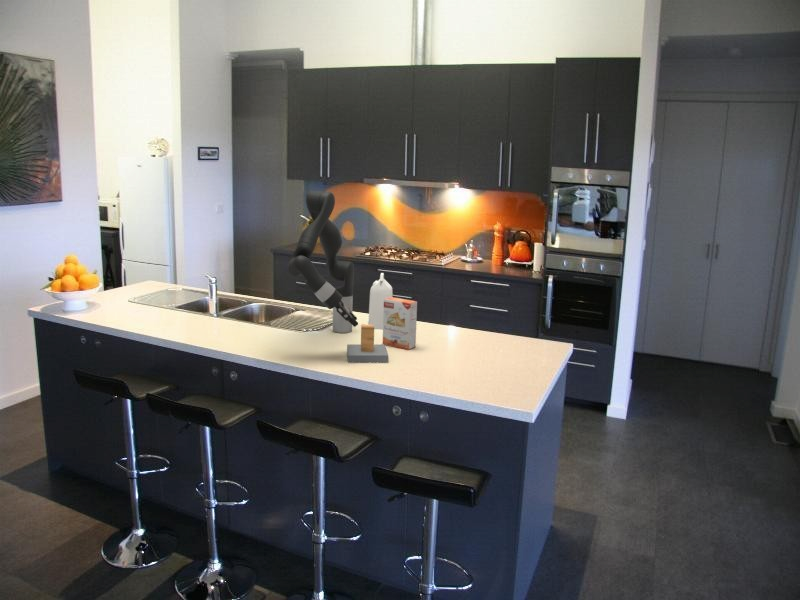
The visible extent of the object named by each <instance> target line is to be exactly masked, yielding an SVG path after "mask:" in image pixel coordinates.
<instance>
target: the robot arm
mask: <svg viewBox="0 0 800 600" xmlns="http://www.w3.org/2000/svg"><path fill="white" fill-rule="evenodd" d="M305 197H306V198H305V204H306V208H307V210H308V213H309V214H310V217H311V220H312V222H311V223H310V224H309V225H308V226H306V227H305V228H304V229H303V231H302V232H301V234H300V236H299V238H298V242H297V244H296V248H295V250H294V251H293V253H292V254H291V257H290V259H289V261H288V264H287V271H288V273H289V275H290V276H291V277H294V278H297V277H298V278H299V277H301V276H303V278H305V286H306V287H307V288H308V289H309V290H310V291H311V292H312V293H313V294H314V295H315V297H316V298H317V299H318V300H319V301H320V302H321V303H322V304H323V305H324V306H325V307H326V308H327V309H328V310H332V332H334V333H339V334H347V333H351V332H352V331H353V327H354V328H356V327H357V326H358V325H359V322H358V321H357V320H358V317H357V316H356V315H355V314H354V313H353V307H354V306H353V305H354V304H353V302H354V301H353V299H354V298H353V294H354V283H355V282H354V279H355V264H354V263H353V261H348V260H346V261H345V260H339V259H337V255H338V254H339V251H340V249H341V248H342V245H343V240H342V237H341V233H340V230H339V228H338V227H337V226H336V224H334V222H332V221H331V220H330V217H331V216H332V214H333V211H334V208H335V206H336V203H335V202H336V198H335V194H334V193H332V192H331V191H324V190H323V191H322V190H310V191H308V193H307V194H306V196H305ZM318 240H319V241H320V245H321V247H322V250H323V252H324V257H325V259H326V264H327V268H328V272H329V275H330V278H331V279H332V280H333V281H338V282H339V281H340V282H344V283H343V285H341V286H338V287H335V286H333V285H332V284H331V283H330V282H328V281H327V280H326V279H325V278H324V277H323V276H322V275H321V274H320V273H319V271H318V269H317V268H316V266H315V265H314V263H313V262H312V261H311V259H309V258H310V257H311V256H312V255H313V253H314V251H315V248H316V246H317V243H318Z"/></svg>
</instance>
